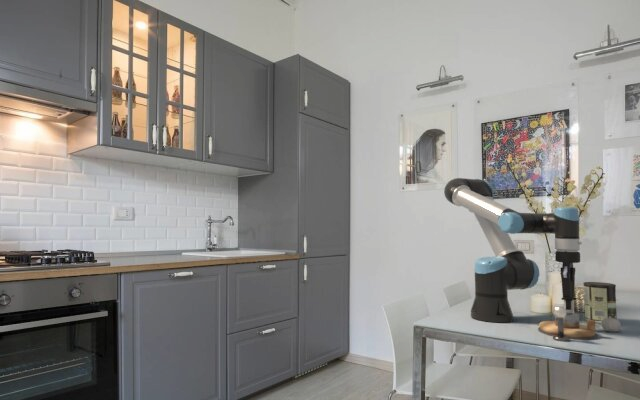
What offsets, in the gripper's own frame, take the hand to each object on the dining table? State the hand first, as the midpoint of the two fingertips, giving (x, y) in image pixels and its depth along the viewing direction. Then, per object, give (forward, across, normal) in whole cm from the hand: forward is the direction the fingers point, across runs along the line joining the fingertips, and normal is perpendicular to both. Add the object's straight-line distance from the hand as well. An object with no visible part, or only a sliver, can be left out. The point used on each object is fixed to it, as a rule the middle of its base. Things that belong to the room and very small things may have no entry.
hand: (569, 318), depth 143 cm
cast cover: (+1, -6, 0) cm, 6 cm away
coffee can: (+4, +24, -6) cm, 25 cm away
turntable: (+4, -6, 0) cm, 7 cm away
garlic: (+4, +7, -11) cm, 14 cm away
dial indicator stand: (+4, -16, 0) cm, 16 cm away
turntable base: (+4, -6, 0) cm, 7 cm away
